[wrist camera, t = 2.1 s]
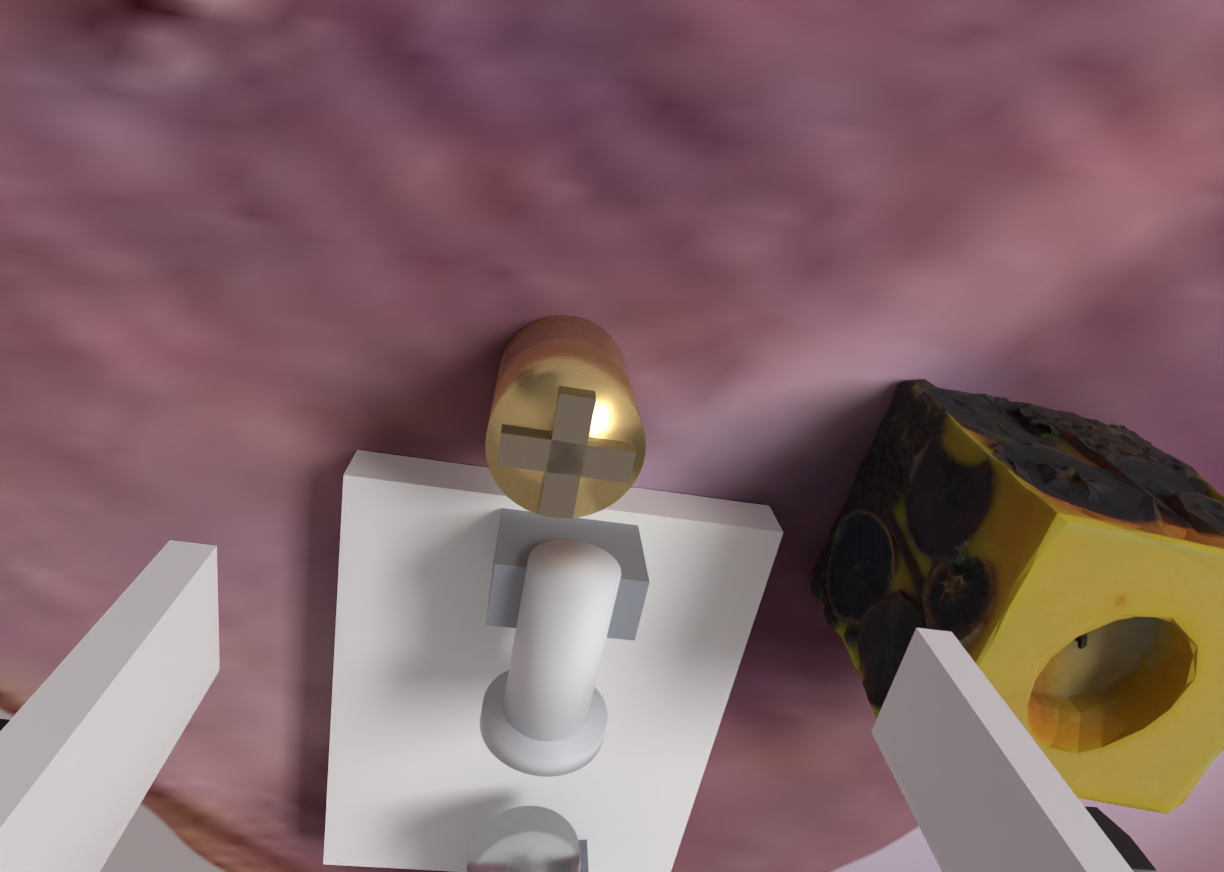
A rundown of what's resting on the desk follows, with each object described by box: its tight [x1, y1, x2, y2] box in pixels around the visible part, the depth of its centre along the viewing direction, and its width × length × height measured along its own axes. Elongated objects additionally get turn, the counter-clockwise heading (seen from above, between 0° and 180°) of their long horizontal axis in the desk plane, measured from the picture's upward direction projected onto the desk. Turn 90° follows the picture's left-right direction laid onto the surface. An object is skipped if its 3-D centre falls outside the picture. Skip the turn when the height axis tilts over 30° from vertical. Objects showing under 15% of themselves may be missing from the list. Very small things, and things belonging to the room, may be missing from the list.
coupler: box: [485, 315, 645, 519], centre depth 24 cm, size 5×5×7 cm
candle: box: [811, 379, 1224, 814], centre depth 26 cm, size 10×10×10 cm
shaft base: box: [323, 450, 783, 872], centre depth 29 cm, size 20×16×8 cm
